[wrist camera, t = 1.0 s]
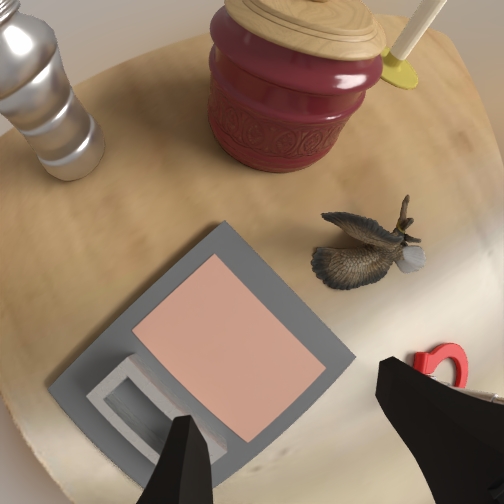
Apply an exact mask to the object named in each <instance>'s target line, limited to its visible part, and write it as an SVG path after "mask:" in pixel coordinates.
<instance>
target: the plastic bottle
mask: <svg viewBox="0 0 504 504" xmlns="http://www.w3.org/2000/svg"><path fill="white" fill-rule="evenodd" d="M19 7H20V1H19V0H0V113H1V114H2V115H3V116H4V117H6V118H7V119H8V120H9V121H10V122H11V123H12V124H13V125H14V126H15V127H16V128H17V129H18V130H19V131H20V132H21V133H22V134H23V136H24V137H25V138H26V140H27V141H28V143H29V144H30V145H31V147H32V148H33V150H34V151H35V152H36V154H37V156H38V159H39V160H40V162H41V164H42V165H43V167H44V168H45V170H46V171H47V172H48V173H49V174H51V175H53V176H54V177H56V178H58V179H60V180H64V181H72V180H76V179H79V178H82V177H84V176H86V175H88V174H89V173H90V172H91V171H93V170H94V168H95V167H96V166H97V165H98V163H99V162H100V160H101V158H102V155H103V153H104V149H105V141H104V136H103V132H102V129H101V127H100V125H99V124H98V123H97V122H96V120H95V119H94V118H93V117H92V116H91V115H90V114H89V113H88V112H87V111H86V110H85V108H84V107H83V105H82V104H81V103H80V101H79V100H78V98H77V97H76V95H75V94H74V92H73V90H72V87H71V85H70V83H69V80H68V78H67V76H66V73H65V71H64V68H63V64H62V60H61V56H60V52H59V48H58V44H57V39H56V37H55V34H54V30H53V29H52V28H51V27H50V26H49V25H48V24H47V23H46V22H45V21H42V20H40V19H38V18H36V17H33V16H30V15H26V14H22V13H19V11H18V9H19Z"/></svg>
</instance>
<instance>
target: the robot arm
mask: <svg viewBox="0 0 504 504" xmlns="http://www.w3.org/2000/svg"><path fill="white" fill-rule="evenodd" d="M375 396H376V398H377V400H378V402H379V404H380V406H381V408H382V410H383V412H384V414H385V415H386V417H387V418H388V420H389V421H390V423H391V424H392V426H393V427H394V428H395V430H396V431H397V433H398V434H399V436H400V437H401V438H402V440H403V441H404V443H405V444H406V445H407V447H408V448H409V450H410V451H411V453H412V454H413V456H414V457H415V459H416V461H417V463H418V465H419V467H420V469H421V471H422V473H423V475H424V477H425V479H426V481H427V483H428V486H429V488H430V490H431V492H432V495H433V498H434V500H435V503H436V504H504V405H503V404H498V403H494V402H489V401H486V400H482V399H479V398H476V397H473V396H470V395H467V394H465V393H462V392H460V391H457V390H455V389H453V388H450V387H448V386H446V385H444V384H442V383H440V382H438V381H436V380H434V379H432V378H430V377H428V376H427V375H425V374H423V373H421V372H419V371H418V370H416V369H414V368H412V367H411V366H409V365H407V364H406V363H404V362H402V361H400V360H399V359H397V358H395V357H393V356H392V357H389V358H387V359H385V360H382V361H380V362H379V371H378V379H377V387H376V394H375ZM136 504H213V492H212V474H211V463H210V457H209V451H208V445H207V442H206V441H205V439H204V437H203V435H202V434H201V432H200V430H199V428H198V427H197V425H196V423H195V421H194V419H193V418H192V416H191V415H185V416H178V417H175V418H174V419H173V422H172V425H171V428H170V431H169V434H168V436H167V439H166V442H165V445H164V447H163V450H162V452H161V455H160V457H159V460H158V462H157V464H156V467H155V469H154V471H153V473H152V475H151V477H150V479H149V481H148V483H147V485H146V487H145V489H144V491H143V493H142V495H141V496H140V498H139V500H138V501H137V503H136Z"/></svg>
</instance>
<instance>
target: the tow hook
mask: <svg viewBox="0 0 504 504" xmlns="http://www.w3.org/2000/svg"><path fill="white" fill-rule="evenodd" d="M447 357H451V358H452V359H453V360H454V362H455V363H456V367H457V379H456V383H455V386H452V385H451V384H450V383H447V382H442V381H438V382H440V383H442V384H444V385H446V386H448V387H450V388H453V389H455V390H457V391H460V392H462V393H465V394H467V395H470V396H473V397H476V398H479V399H482V400H486V401H489V402H494V403H498V404H503V405H504V398H502V397H498V395H497V394H494V393H488V392H482V391H476V390H470V389H465V386H466V382H467V377H468V361H467V357H466V354H465V352H464V350H463V349H462V348H461V347H460V346H459V345H457V344H454V343H444V344H442V345H440V346H438V347H436V348H435V349H434V350H433V351H432V352H431V353H430V354H429V353H425V352H417V353H416V355H415V363H414V369H416V370H418V371H419V372H421V373H423V374H425V375H426V374H430V373H433V372H434V370H435V368H436V367H437V365H438V364H439V363H440V362H441V361H442V360H443V359H445V358H447ZM427 376H428V377H430V378H432V379H434V380H436V377H435V376H430V375H427Z"/></svg>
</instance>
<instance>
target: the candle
mask: <svg viewBox="0 0 504 504" xmlns="http://www.w3.org/2000/svg"><path fill="white" fill-rule="evenodd" d="M446 1H447V0H423V1H422V2H421V4H420V5H419V7H418V8H417V10H416V11H415V13H414V14H413V16H412V17H411V19H410V20H409V22H408V23H407V25H406V27H405V28H404V30H403V31H402V33H401V34H400V36H399V37H398V39H397V40H396V42H395V43H394V45H393V46H392V48H391V49H390V48H388V47H386V46H385V49H384V50H383V52H382V53H381V56H382V60H383V72H382V75H381V78H382V79H383V80H385V81H386V82H388V83H390V84H392V85H394V86H396V87H399V88H403V89H413V88H415V87H416V85H417V84H418V77H417V74H416V72H415V70H414V69H413V67H412V66H411V65H410V64H409V63H408V62H407V60H406V59H405V58H406V57H407V55H408V54H409V53H410V51H411V50H412V49H413V47H414V46H415V44H416V43H417V42H418V40H419V39H420V38H421V36H422V35H423V33H424V32H425V31H426V29H427V28H428V26H429V25H430V24H431V22H432V21H433V19H434V18H435V17H436V15H437V14H438V13H439V11H440V9H441V8H442V7H443V5H444V4H445V3H446Z"/></svg>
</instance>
